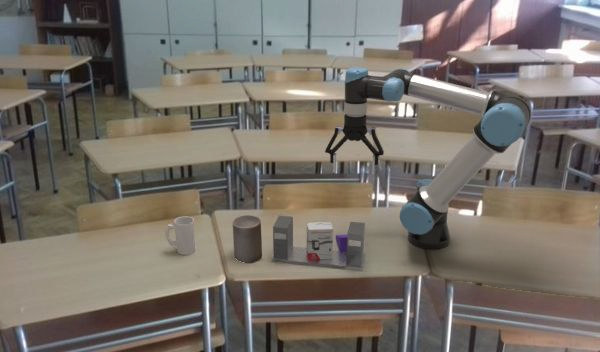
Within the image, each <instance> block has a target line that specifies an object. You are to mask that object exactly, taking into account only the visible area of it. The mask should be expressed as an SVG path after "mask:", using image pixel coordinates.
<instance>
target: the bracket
mask: <svg viewBox="0 0 600 352" xmlns="http://www.w3.org/2000/svg"><path fill="white" fill-rule="evenodd" d="M335 241H336V244H337V248H338V251H345V252H347V234H337V235H335Z"/></svg>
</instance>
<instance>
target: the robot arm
mask: <svg viewBox="0 0 600 352" xmlns="http://www.w3.org/2000/svg"><path fill="white" fill-rule="evenodd" d="M368 70H369V69H367V67H366V68H364V67H350V68H347V69H346V71H345V74H344V75H345V76H344V104H343V105H344V109H343V110H344V112H343V113H344V116H343V127H339V126H338V125H337V126H335V127H334V133H333V135H332V137H331V138H330V141H329V143H328V144H327V146H326V147H325V150H324V153H326V154H329V155H330V156H329V158H330V159H329V162H330V163H331V164H332V165H333V166H332V167H333V170H332V173H334V174H336V172H337V151H338V150H339V149H340V148H341V147H342V146H344V143H345V142H347V141H348V140H349V141H350V142H353V141H355V142H360V141H362V143H363V144H364V145H365V146H366V147H367V148H368V149H369V150H370V152H371V153H372V161H371V162H372V163H371V164H372V166H371V167H372V169H371V175H372V176H374V175H375V169H376V167H375V166H378V165H379V157H380V156H384V154H385V150H384V149H383V147H382V144H381V141H380V140H379V137H378V136H377V134H376V128H375V127H371V128H367V115H366V114H367V111H368V109H367V108H368V99H369V100H377V101H385V102H400V101H401V100H402V98H403V96H408V97H411V98H416V99H420V100H422V101H427V102H431V103H434V104H438V105H442V106H446V107H449V108H453V109H456V110H461V111H464V112H468V113H471V114H475V115H479V116H481V117H482V118H481V119H480V120H479V121H478V122H477V124H476V125H475V126H474V127H473V129H472V132H473V136H472V137H470V139H469V140H468V141H467V142H466V143H465V144H464V145H463V147H461V148H460V149H459V150H458V152H457V153H456V154H455V155H454V157H453V158H452V159H451V160H450V161H449V162H448V163H447V164H446V165H445V166H444V168H443V169H442V170H441V171H440V172H439V173H438V174H437V175H436V176H435V177H434V179H432V178H423V179H420V180H418V181H417V182H416V191H415V193H414V194H412V197H410V198H409V200H407V202H405V204H404V205H402V207H401V209H400V211H399V220H400V223H401V225H402V227H403V228H404V229H405V230H407V240H408V241H409V243H411V244H412V245H414V246H416V247H419V248H421V249H424V250H425V249H427V250H440V249H443V248H446V247H448V245H449V244H450V240H451V235H450V230H449V227H448V222H447V220H448V213H449V203H450V202H451V201H452V200H453V199H454V198H455V197H456V196H457V194H458V193H460V191H461V190H462V189H463V188H464V187H465V186H467V184H468V183H470V181H471V180H472V178H474V176H475V175H477V174H478V173H479V171H481V169H482V168H483V167H484V166H486V164H487V163H488V162H489V161H490V159H491V160H492V158H493V157H494V155H496V154H504V153H505V152H506V150H507V149H508V148H509V147H510V146H511V145H512V144H514V143H515V142H517V141H518V140H519V139H520V138H521V137H522V136H523V134H524V133H525V129H526V128H527V126H528V125H529V123H530V121H531V117H532V112H531V107H530V105H529V104H528V102H527V101H526V100H525V99H523V98H522V97H520V96H517V95H515V94H510V93H506V92H501V91H497V90H491V91H489V92H487V91H483V90H479V89H476V88H472V87H467V86H463V85H459V84H455V83H451V82H446V81H444V80H439V79H436V78H431V77H427V76H423V75H419V74H414V73H412V72H411V71H409V70H408V69H406V68H398V69H394V70H393V71H391V72H389V73H388V74H385V75H384V76H376V75H375V76H374V75H369V71H368ZM341 133H343V135H344V136H342V138H341V139H340V140H339V141H338V143H336V145H334V146H333V144H334V142H335V141H336V139H337V137H338V135H339V134H341ZM367 133H368V134H369V136H371V137H372V139H373V140H372V141H373V142H374V144H375V146H376V147H375V146H374V145H373V144H372V142H371V141H370V140H369V139H368V137H367V136H366V135H367ZM332 146H333V147H332Z"/></svg>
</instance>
